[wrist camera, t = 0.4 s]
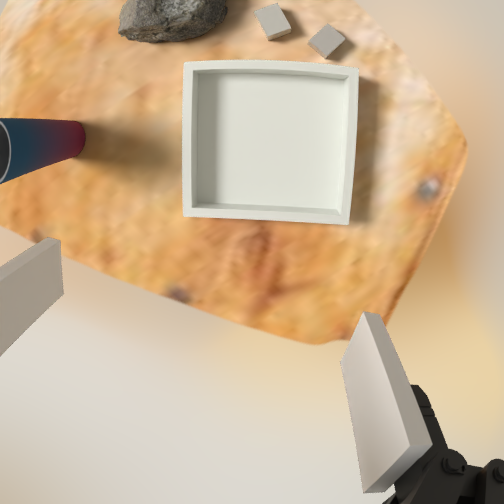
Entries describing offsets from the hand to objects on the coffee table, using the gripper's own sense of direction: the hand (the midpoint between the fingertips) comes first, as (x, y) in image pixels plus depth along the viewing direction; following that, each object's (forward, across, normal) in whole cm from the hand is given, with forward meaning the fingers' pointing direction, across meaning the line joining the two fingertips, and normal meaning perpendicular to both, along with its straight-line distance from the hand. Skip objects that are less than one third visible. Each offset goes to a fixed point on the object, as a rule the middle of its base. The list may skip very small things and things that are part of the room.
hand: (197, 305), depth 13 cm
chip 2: (+27, +5, +19) cm, 33 cm away
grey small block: (+27, -2, +20) cm, 33 cm away
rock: (+27, -13, +20) cm, 35 cm away
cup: (+26, -25, +2) cm, 36 cm away
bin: (+26, +1, +6) cm, 27 cm away
